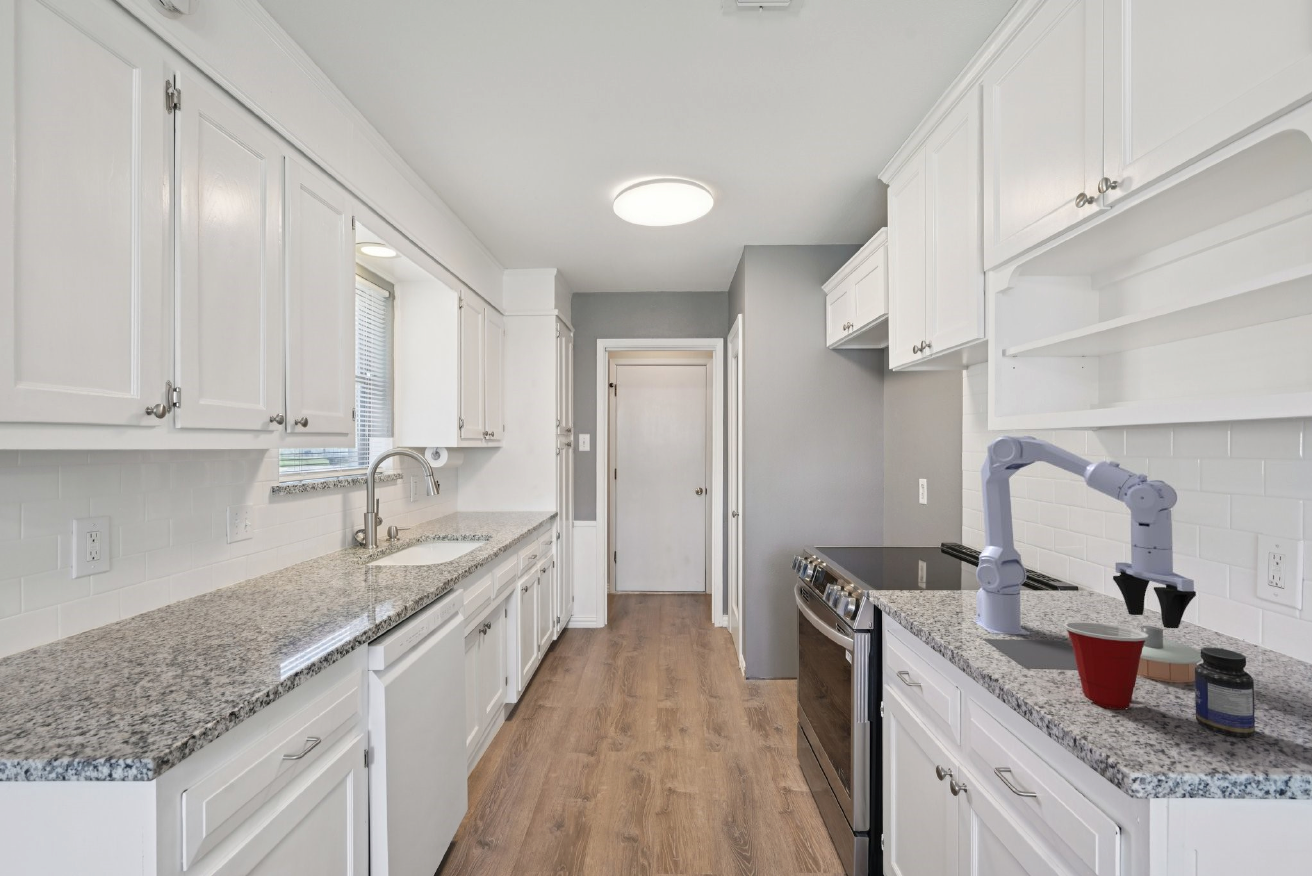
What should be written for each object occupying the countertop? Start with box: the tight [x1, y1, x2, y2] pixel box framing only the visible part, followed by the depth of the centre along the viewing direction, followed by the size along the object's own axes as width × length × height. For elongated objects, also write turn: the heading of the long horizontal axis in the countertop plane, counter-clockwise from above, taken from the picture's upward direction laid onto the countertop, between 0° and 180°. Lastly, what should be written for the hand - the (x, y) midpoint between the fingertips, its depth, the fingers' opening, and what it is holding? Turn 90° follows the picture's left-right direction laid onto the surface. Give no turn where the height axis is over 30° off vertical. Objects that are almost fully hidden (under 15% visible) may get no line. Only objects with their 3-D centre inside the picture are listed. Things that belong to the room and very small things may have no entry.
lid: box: [1140, 625, 1203, 664], centre depth 103 cm, size 13×13×4 cm
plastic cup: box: [1063, 621, 1149, 710], centre depth 91 cm, size 11×11×12 cm
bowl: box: [1137, 658, 1198, 683], centre depth 102 cm, size 11×11×4 cm
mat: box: [982, 638, 1078, 671], centre depth 111 cm, size 16×16×1 cm
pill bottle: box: [1194, 646, 1256, 738], centre depth 82 cm, size 6×6×11 cm
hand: (1152, 621), depth 103 cm, fingers open, 7 cm apart
